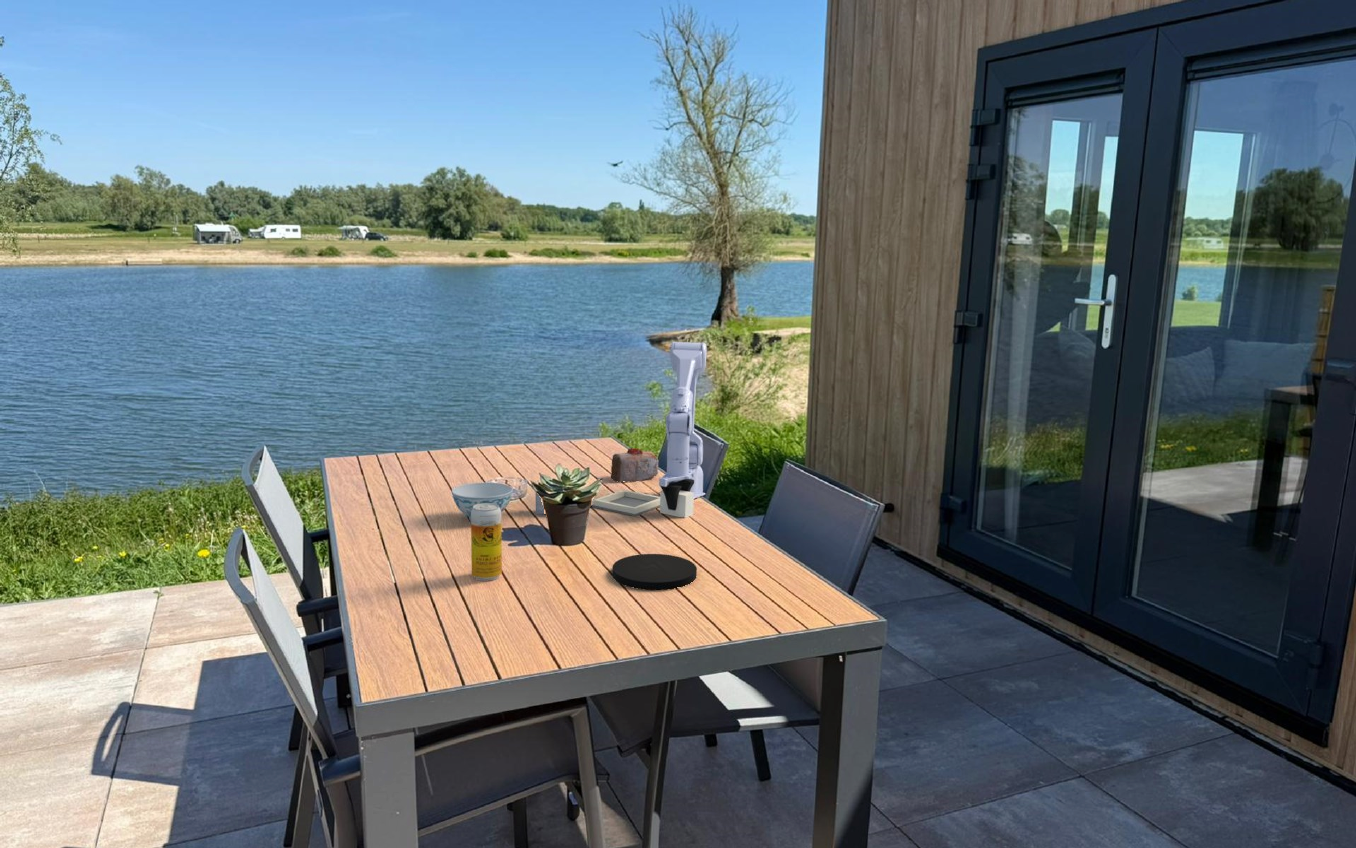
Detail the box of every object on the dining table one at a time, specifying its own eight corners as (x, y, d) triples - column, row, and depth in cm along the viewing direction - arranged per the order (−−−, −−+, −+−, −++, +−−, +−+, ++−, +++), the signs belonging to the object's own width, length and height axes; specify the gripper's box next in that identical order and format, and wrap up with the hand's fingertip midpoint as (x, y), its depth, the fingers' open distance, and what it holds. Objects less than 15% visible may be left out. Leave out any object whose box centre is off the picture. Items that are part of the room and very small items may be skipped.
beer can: (476, 583, 174) (475, 511, 171) (468, 573, 179) (467, 504, 177) (505, 579, 177) (504, 508, 174) (497, 570, 182) (496, 501, 179)
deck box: (668, 509, 232) (668, 487, 231) (693, 514, 228) (693, 492, 227) (659, 512, 229) (660, 490, 228) (685, 518, 224) (685, 495, 223)
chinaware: (439, 522, 214) (439, 492, 213) (475, 508, 228) (475, 480, 227) (490, 530, 209) (490, 500, 208) (524, 515, 223) (523, 486, 221)
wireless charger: (679, 597, 170) (679, 587, 170) (598, 583, 176) (598, 574, 176) (707, 569, 187) (707, 560, 187) (632, 558, 193) (632, 549, 193)
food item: (647, 474, 272) (647, 444, 270) (660, 480, 265) (660, 448, 263) (608, 479, 265) (609, 447, 263) (621, 484, 258) (621, 452, 256)
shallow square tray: (623, 495, 245) (623, 489, 245) (667, 504, 237) (667, 497, 237) (590, 506, 233) (590, 500, 232) (635, 516, 224) (635, 509, 224)
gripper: (675, 464, 217) (674, 516, 220) (705, 455, 229) (703, 504, 232) (652, 460, 221) (651, 511, 224) (683, 451, 233) (681, 500, 236)
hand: (676, 507), depth 228 cm, fingers closed on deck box, 4 cm apart
